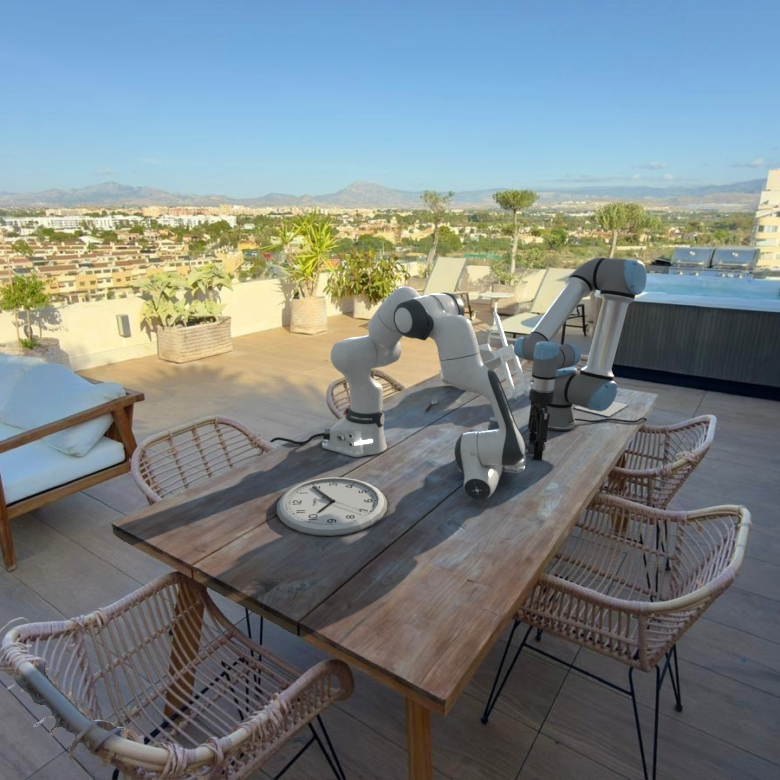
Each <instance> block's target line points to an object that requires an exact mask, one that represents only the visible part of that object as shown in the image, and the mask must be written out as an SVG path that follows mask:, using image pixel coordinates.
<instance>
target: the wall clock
mask: <svg viewBox="0 0 780 780" xmlns="http://www.w3.org/2000/svg"><path fill="white" fill-rule="evenodd" d="M387 509H388V500H387V498H386V496H385V494H384V493H383V492H382V491H381V490H380V489H379V488H377V487H376V486H374V485H372V484H371V483H369V482H365V481H362V480H359V479H355V478H349V477H338V476H337V477H335V476H333V477H332V476H331V477H322V478H317V479H312V480H307V481H305V482H302V483H299V484H297V485H295V486H293V487H292V488H290V489H288V490H287V491H286V492H285V493H284V494H283V495H281V496H280V498H279V499H278V502H277V503H276V515H277V517H278V518H279V520H280V521H281V522H282V523H283V524H285V525H286V526H287V527H288V528H290V529H293V530H295V531H297V532H299V533H303V534H308V535H312V536H327V537H328V536H329V537H331V536H332V537H333V536H342V535H350V534H352V533H356V532H361V531H363V530H366V529H368V528H369V527H372V526H373V525H375V524H376V523H378V522H379V521H380V520H381V519H382V518H383V517H384V516H385V514H386V512H387Z"/></svg>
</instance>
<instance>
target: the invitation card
mask: <svg viewBox="0 0 780 780" xmlns="http://www.w3.org/2000/svg"><path fill="white" fill-rule="evenodd" d="M628 406H629V404H627V403H623V402H618V401H615V400H614V401H613V403H612V404H611V405H610V406H609V407H608V408H607V409H606V410H604V411H595V410H589V409H588V408H584V407H581V406H577V405H575V406H574V407H573V409H575V410H581V411H584V412H587V413H593V414H596V415H600V416H604V417H608V418H609V417H611V416H613V415H614V414H616V413H617V412H619V411H621V410H623V409H624V408H626V407H628Z"/></svg>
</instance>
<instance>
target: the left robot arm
mask: <svg viewBox="0 0 780 780" xmlns="http://www.w3.org/2000/svg"><path fill="white" fill-rule="evenodd" d="M465 312H466V311H465V304H464V303H463V300H462V299H461V297H460V296H459V295H457V294H455V293H451V292H439V293H429V294H425V295H420V293H419V292H418V291H417V290H416V289H414V288H413V287H410V286H400V287H398V288H396V289H395V290H393V292H391V293H390V294H389V295H388V296H387V297H386V298H385V299H384V301H383V302H382V303H381V304H380V305H379V306H378V308H377V309H376V311H375V312H374V314H373V315H372V316H371V317H370V319H369V320H368V323H367V330H368V334H366V335H362V336H354V337H348V338H344V339H342V340H340V341H337V342H335V343H333V345H332V347H331V350H330V356H329V357H330V361H331V364H332V366H333V367H334V369H336V371H337V372H339V373H341V374H342V375H343V376H344V378H345V380H346V382H347V385H348V389H349V405H348V407H346V408H345V410H343V415H345V416H344V417H343V418H341V419H340V420H339V421H337V422H336V423H334V424H333V425H332V426H331V428H325V429H324V431H323V432H319V433H316V434H313V435H311V436H309V438H308V439H306V440H304V441H299V440H298V441H297V440H293V439H290V438H285V437H281V436H276V437H273V438H272V439H271V440H270V441H269V443H274V442H275V441H282V442H287V443H291V444H293V445H307V444H308V443H310V442H311V441H312V440H313V439H315V438H319V437H323V438H322V439H323V441H322V443H321V448H322V449H325V450H328V451H332V452H336V453H338V454H343V455H345V456H348V457H349V456H350V457H353V458H361V457H364V456H372V455H377V454H381V453H382V452H384V451H386V450H387V448H388V445H387V444H388V443H387V441H386V437H385V429H384V424H385V408H384V387H383V386H382V384H381V383H380V382H379V381H378V380H376V379H374V378H373V377H372V374H371V370H372V369H378V368H383V367H386V366H389V365H392V364H393V363H396V362H397V361H398V360H399V359H400V357H401V355H402V345H401V342H400V340H401V339H402V338H403V337H406V338H410V339H416V340H421V341H427V339H428V338H430V339H432V341H434V343H435V345H436V348H437V353H438V360H439V366H440V370H442V374H443V376H444V378H445V380H446V381H447V382H448V383H449V384H450V386H452V387H454V388H456V389H459V390H463V391H467V392H471V393H474V394H478V395H480V396H482V397H484V398H485V399H486V400H487V401H488V402H489V403H490V406H491V408H492V411H493V415H494V417H496V419H497V422H498V425H499V429H495V430H488V429H486V430H475V431H474V430H473V431H466V432H465V431H464V432H462V433H461V434H460V435H459V437H458V438H457V441H456V443H455V445H454V446H455V447H454V457H455V462H456V466H457V467H458V471H459V472H460V473H462V474H463V491H464V492H465V493H464V494H466V495H467V497H469V498H471V499H473V500H474V501H475V500H476V501H484V500H487V499H489V498H490V497H491V496H492V495H493V493H494V492H495V490H496V488H497V486H498V484H499V480H500V478H501V476H502V473H503V472H506V473H512V474H519V473H521V472H524V471H525V469H526V461H527V455H526V443H525V441H524V438H523V436H522V434H521V432H520V429H519V427H518V425H517V423H516V421H515V418H514V415H513V411H512V409H511V406H510V404H509V401H508V398H507V395H506V393H505V390H504V388H503V384H502V383H501V380H500V378H499V376H498V374H497V372H495V370H493V371H492V370H489V369H488V368H487V367H486V366H485V364H484V363H483V361H482V359H481V356H480V353H479V352H480V351H479V346H478V345H479V343H478V340H477V335H476V332H475V329H474V326H473V323H472V322H471V320H470V319H469V317H467V316H465V314H466V313H465Z"/></svg>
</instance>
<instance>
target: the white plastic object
mask: <svg viewBox="0 0 780 780" xmlns="http://www.w3.org/2000/svg"><path fill="white" fill-rule="evenodd" d="M492 315H493V319H494V321H495V324H496V325H495V326H496V328H497V332H498V335H499V338H500V342H501V345H502V347H500V348H498V349H496V350H495V349H493V348H492V347H491V346H490V344H489V343H488V342H487V343H483V344H478V346H479V351H480V352H479V353H480V356H481V359H482V361H483V363H484V364H485V366H486V367H487V368H488V369H489V370H492V371H495V370H496V369H497V368H499V367H500V366H502V370H503V373H504V376H505V380H506V383H507V386H508V390H509V393H510V394H511V395H512V397H513V398H514V399H515V400H517V392H516V391H517V390H516V388H515V385H514V381H513V378H512V375H511V371H510V369H509V365H508V361H510V360H513V363H514V366H515V369H516V372H517V376H518V380H519V382H520V385H521V389H522V391H523V393H524V395H525V396H526V397H528V396H529V395H530V389H529V388H528V387H529V386H528V384H527V381H526V378H525V375H524V371H523V369H522V368H523V367H522V366H521V362H520V359H519V357H517V356H516V355H515V353H514V345H513V343H511V344H508V341H507V337H506V334H505V331H504V328H503V325H502V321H501V318H500V315H499V314H498V312H497V311H496V310H495V311H492ZM438 372H439V376H440V381H442V383H443V384H444V385H445V386H449V385H450V386H451V384H449V383H448V382H447V381H446V380H445V378H444V376H443V374H442V370H441V369H440V370H439V371H438Z"/></svg>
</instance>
